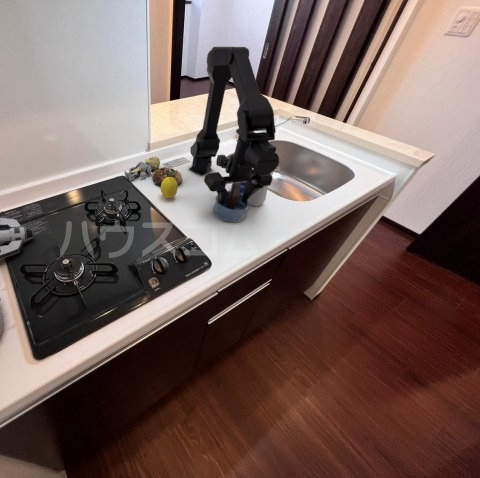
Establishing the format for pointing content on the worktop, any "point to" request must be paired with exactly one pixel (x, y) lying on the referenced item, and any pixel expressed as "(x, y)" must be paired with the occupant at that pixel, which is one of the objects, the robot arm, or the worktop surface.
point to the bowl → (231, 214)
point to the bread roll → (166, 175)
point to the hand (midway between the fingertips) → (231, 203)
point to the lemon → (169, 187)
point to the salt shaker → (259, 196)
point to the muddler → (233, 195)
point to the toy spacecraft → (12, 237)
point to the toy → (143, 168)
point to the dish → (1, 321)
